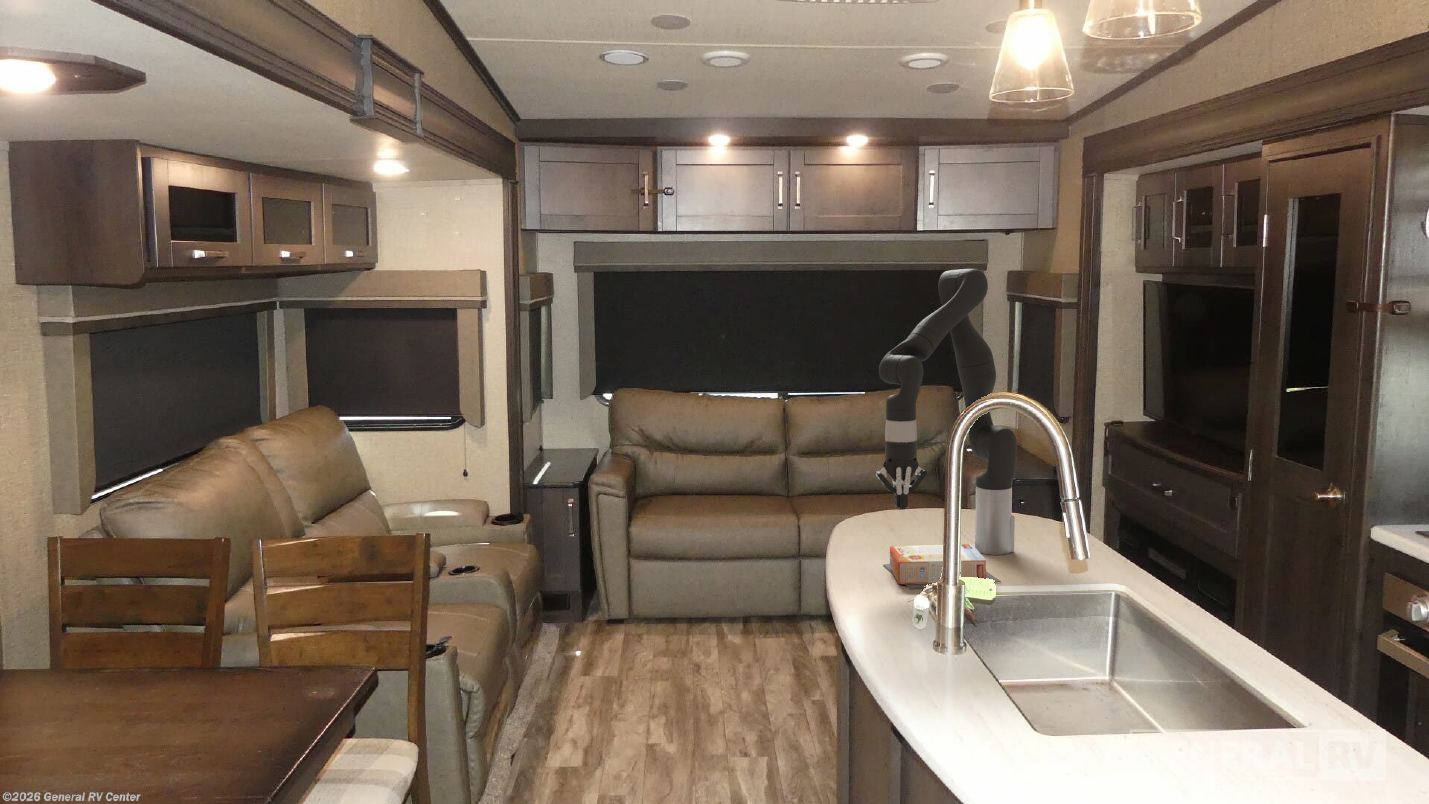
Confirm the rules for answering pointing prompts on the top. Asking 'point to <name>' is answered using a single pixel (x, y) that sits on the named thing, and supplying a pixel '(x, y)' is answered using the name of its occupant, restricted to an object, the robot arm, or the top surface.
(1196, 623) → the top surface
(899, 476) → the robot arm
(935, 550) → the cracker box
